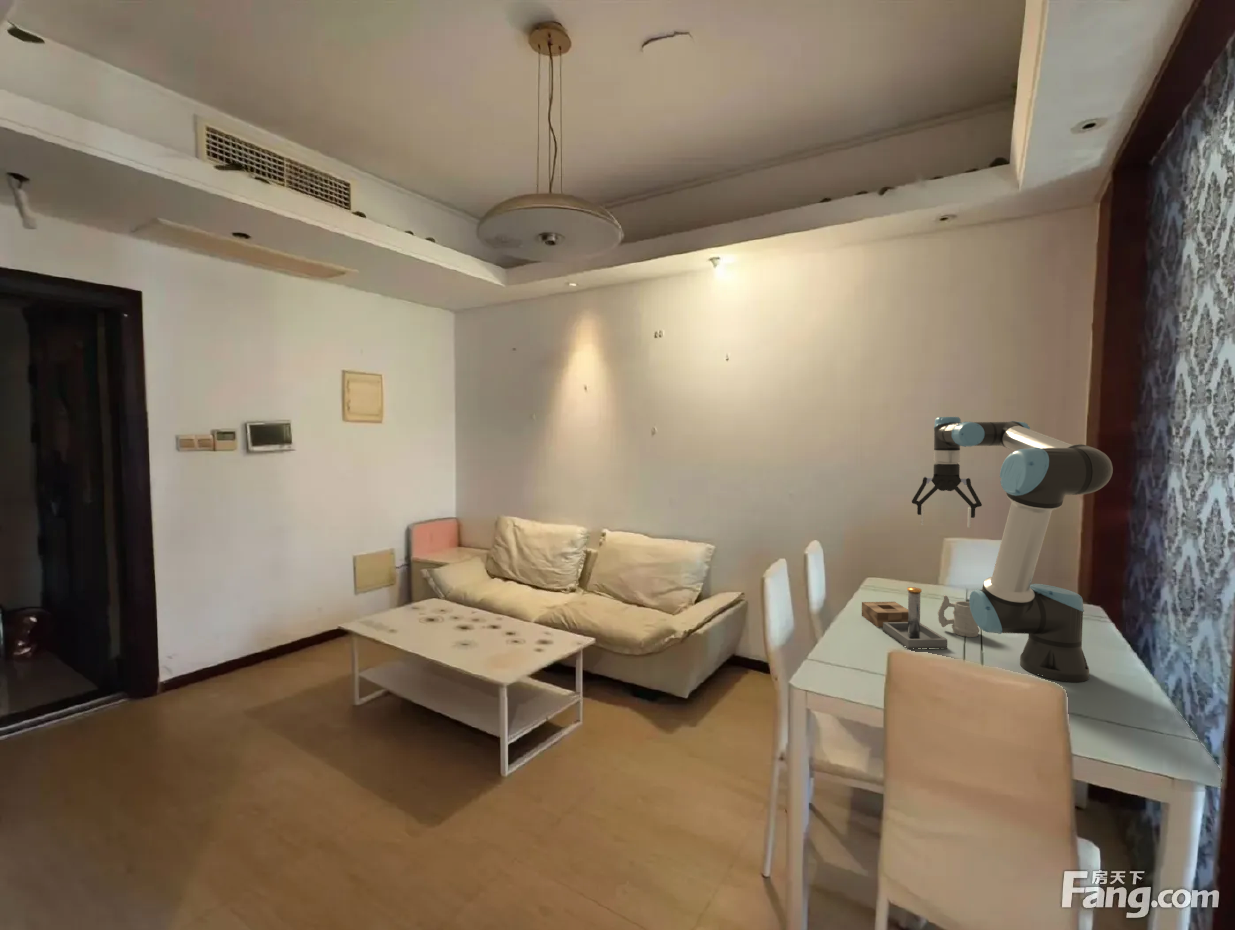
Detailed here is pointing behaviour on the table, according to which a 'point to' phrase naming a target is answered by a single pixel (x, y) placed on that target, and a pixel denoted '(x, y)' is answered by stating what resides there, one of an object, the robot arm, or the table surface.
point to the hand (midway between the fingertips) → (945, 526)
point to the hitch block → (884, 612)
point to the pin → (914, 612)
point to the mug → (959, 618)
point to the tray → (926, 639)
